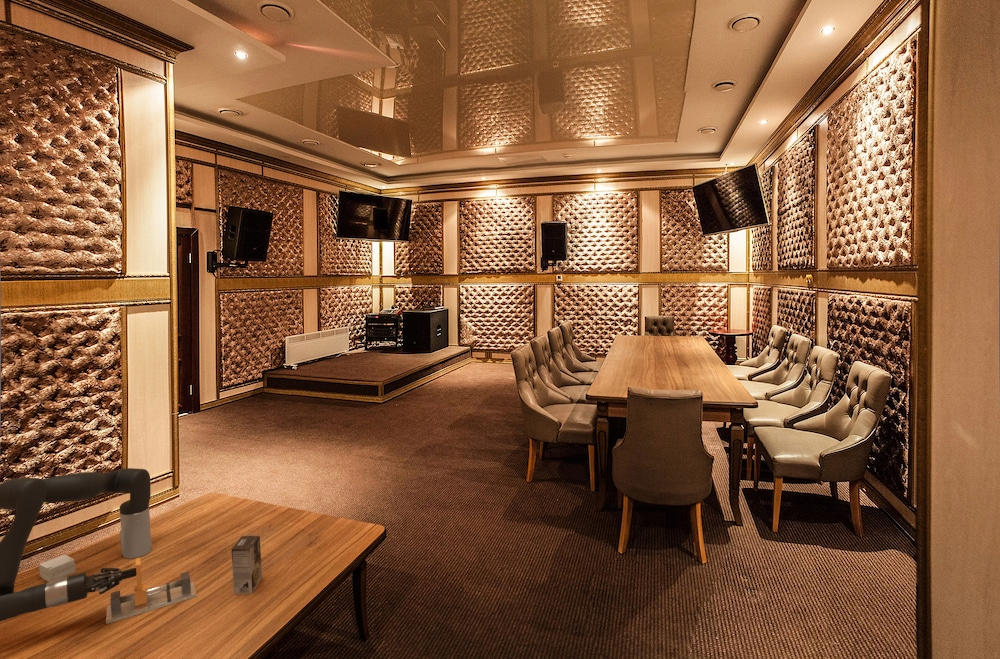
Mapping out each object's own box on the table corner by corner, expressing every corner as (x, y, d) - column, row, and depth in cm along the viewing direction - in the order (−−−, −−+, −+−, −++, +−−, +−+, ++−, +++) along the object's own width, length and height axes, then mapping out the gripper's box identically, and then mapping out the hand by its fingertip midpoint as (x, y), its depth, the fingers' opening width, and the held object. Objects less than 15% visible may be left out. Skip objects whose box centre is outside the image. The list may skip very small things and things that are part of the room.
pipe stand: (106, 624, 161) (104, 605, 160) (107, 609, 168) (105, 591, 168) (196, 596, 175) (195, 579, 174) (193, 583, 182) (192, 567, 181)
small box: (66, 566, 193) (64, 553, 193) (76, 572, 189) (75, 559, 189) (39, 577, 187) (38, 563, 186) (49, 583, 183) (48, 569, 182)
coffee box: (243, 579, 185) (241, 535, 183) (262, 578, 185) (260, 534, 184) (232, 595, 176) (230, 549, 174) (252, 594, 176) (250, 548, 175)
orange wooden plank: (135, 606, 167) (132, 566, 165) (135, 598, 171) (132, 559, 169) (146, 602, 168) (143, 563, 167) (146, 595, 172) (143, 556, 171)
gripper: (63, 588, 153) (135, 569, 162) (67, 568, 163) (135, 551, 173) (65, 613, 153) (137, 592, 163) (70, 591, 164) (137, 573, 174)
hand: (136, 571), depth 168 cm, fingers closed
